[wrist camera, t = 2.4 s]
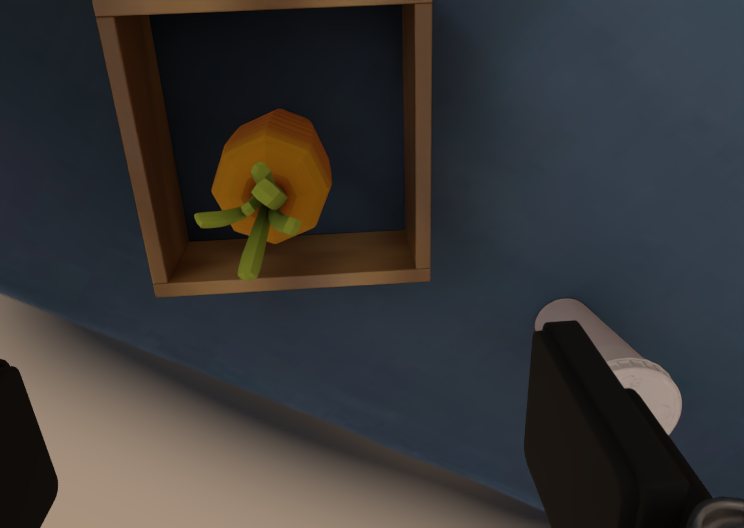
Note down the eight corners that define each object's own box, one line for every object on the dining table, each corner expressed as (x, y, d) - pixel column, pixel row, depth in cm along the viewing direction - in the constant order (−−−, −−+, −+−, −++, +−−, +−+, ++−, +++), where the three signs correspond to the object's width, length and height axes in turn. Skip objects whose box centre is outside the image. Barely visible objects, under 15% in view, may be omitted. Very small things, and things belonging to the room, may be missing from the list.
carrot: (292, 188, 36) (268, 321, 23) (224, 130, 34) (155, 237, 21) (350, 126, 35) (361, 230, 21) (283, 63, 33) (248, 131, 20)
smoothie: (558, 262, 39) (665, 402, 27) (629, 309, 41) (760, 461, 29) (495, 335, 41) (566, 496, 29) (565, 376, 43) (661, 545, 31)
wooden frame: (178, 253, 38) (155, 297, 33) (128, -9, 31) (90, -4, 26) (417, 240, 38) (430, 281, 33) (417, -20, 32) (432, -17, 27)
